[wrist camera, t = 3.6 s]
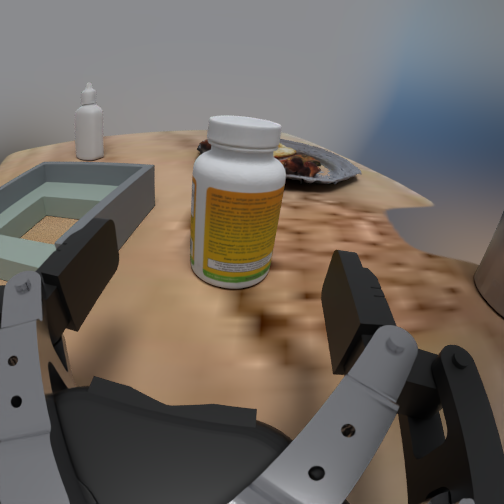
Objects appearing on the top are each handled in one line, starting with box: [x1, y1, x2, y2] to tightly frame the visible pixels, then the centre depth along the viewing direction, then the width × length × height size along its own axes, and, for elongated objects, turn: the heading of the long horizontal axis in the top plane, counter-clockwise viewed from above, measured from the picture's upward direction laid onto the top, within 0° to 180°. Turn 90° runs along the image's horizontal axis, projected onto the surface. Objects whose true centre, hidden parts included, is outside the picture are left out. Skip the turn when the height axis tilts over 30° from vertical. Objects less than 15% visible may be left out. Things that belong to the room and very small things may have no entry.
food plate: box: [197, 139, 361, 184], centre depth 43 cm, size 25×23×4 cm
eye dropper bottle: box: [75, 83, 104, 160], centre depth 36 cm, size 4×6×12 cm
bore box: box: [0, 162, 155, 281], centre depth 20 cm, size 14×14×4 cm
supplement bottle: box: [190, 116, 286, 289], centre depth 18 cm, size 5×5×10 cm
